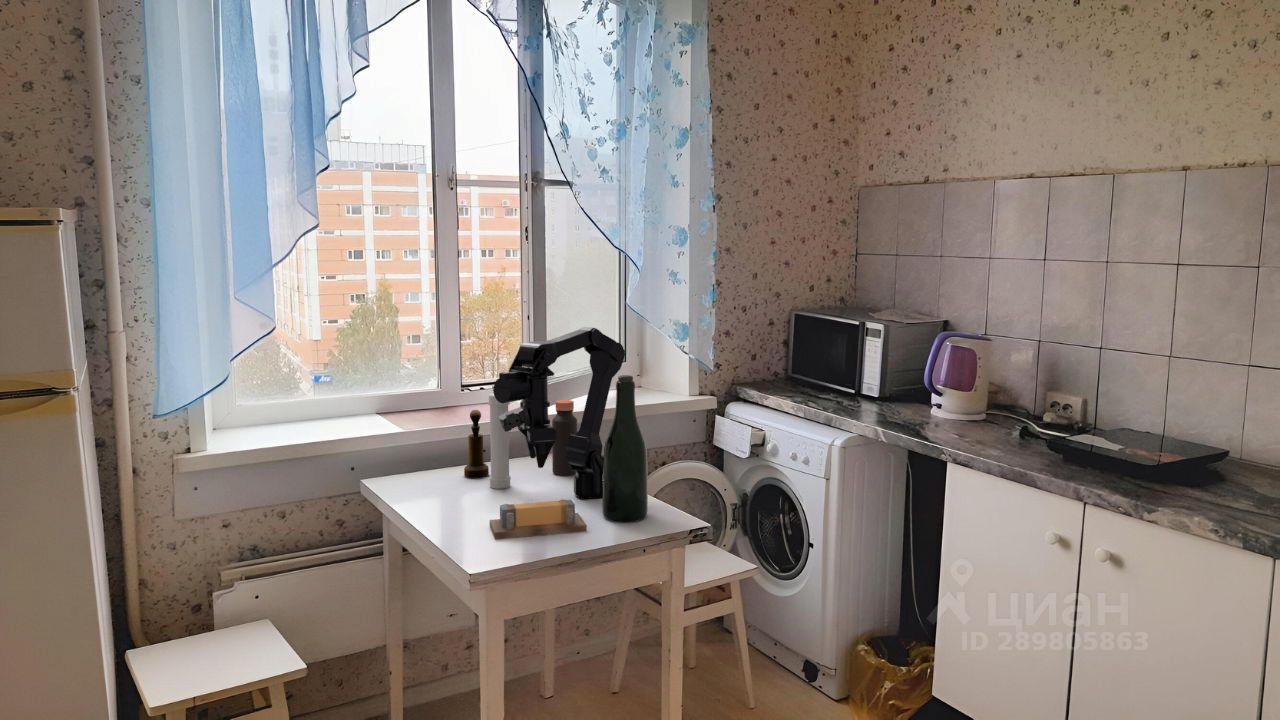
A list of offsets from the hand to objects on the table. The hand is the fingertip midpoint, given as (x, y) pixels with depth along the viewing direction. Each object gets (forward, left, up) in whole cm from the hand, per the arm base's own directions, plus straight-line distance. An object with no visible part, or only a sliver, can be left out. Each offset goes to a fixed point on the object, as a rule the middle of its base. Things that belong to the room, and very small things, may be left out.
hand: (536, 462), depth 207 cm
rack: (+2, +13, -12) cm, 17 cm away
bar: (+2, +13, -10) cm, 16 cm away
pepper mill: (+10, -37, -12) cm, 40 cm away
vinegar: (-13, -33, -12) cm, 38 cm away
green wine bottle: (-19, +9, -12) cm, 24 cm away
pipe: (+5, -24, -12) cm, 27 cm away
